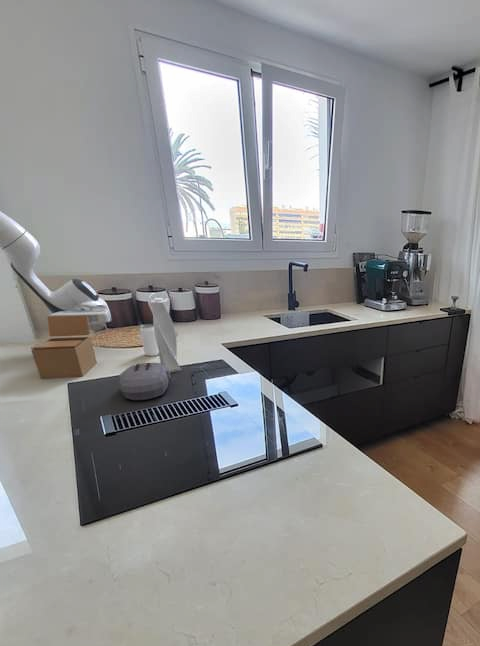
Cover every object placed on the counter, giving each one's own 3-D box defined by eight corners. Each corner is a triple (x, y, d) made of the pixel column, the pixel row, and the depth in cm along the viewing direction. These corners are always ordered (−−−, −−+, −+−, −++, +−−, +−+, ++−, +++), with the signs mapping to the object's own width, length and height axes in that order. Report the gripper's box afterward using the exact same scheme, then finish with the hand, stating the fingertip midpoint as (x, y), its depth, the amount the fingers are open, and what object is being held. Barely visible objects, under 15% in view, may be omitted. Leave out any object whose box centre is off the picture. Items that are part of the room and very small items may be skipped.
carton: (58, 364, 150) (49, 336, 145) (97, 362, 153) (89, 334, 148) (40, 378, 137) (30, 347, 132) (82, 376, 140) (74, 345, 135)
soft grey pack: (125, 382, 136) (116, 405, 119) (120, 359, 132) (110, 380, 115) (173, 377, 141) (170, 399, 124) (168, 355, 138) (166, 374, 121)
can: (148, 357, 161) (142, 328, 156) (142, 353, 165) (136, 325, 160) (164, 354, 165) (159, 326, 160) (158, 350, 169) (152, 323, 164)
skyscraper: (155, 368, 149) (140, 293, 137) (177, 364, 154) (164, 291, 142) (163, 374, 143) (148, 296, 132) (185, 370, 148) (173, 294, 137)
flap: (49, 336, 145) (50, 336, 145) (89, 334, 148) (89, 335, 149) (47, 316, 144) (47, 316, 145) (87, 315, 148) (87, 315, 148)
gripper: (56, 306, 159) (40, 314, 147) (112, 305, 164) (101, 312, 152) (60, 322, 162) (45, 330, 150) (115, 320, 167) (105, 328, 155)
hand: (74, 321), depth 151 cm, fingers closed
